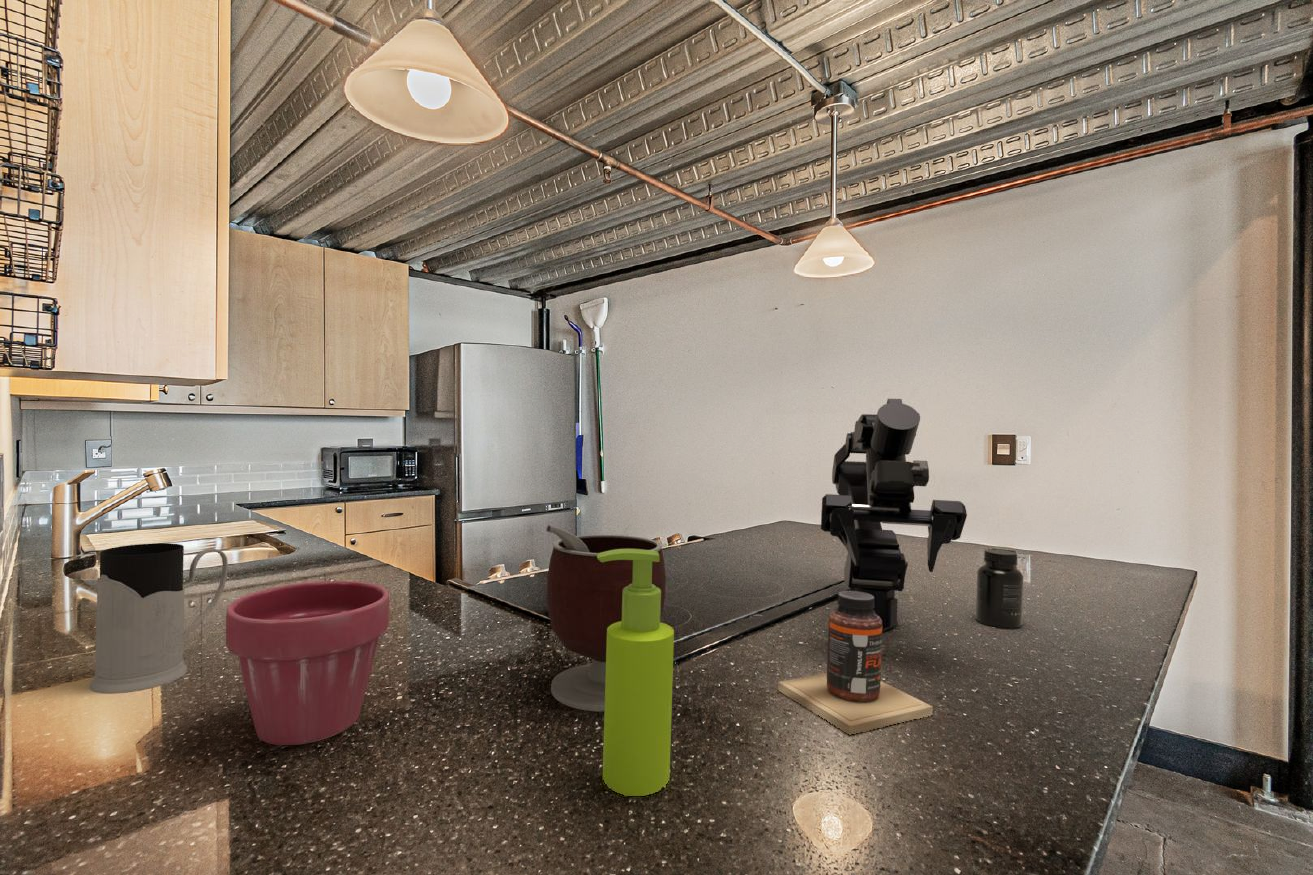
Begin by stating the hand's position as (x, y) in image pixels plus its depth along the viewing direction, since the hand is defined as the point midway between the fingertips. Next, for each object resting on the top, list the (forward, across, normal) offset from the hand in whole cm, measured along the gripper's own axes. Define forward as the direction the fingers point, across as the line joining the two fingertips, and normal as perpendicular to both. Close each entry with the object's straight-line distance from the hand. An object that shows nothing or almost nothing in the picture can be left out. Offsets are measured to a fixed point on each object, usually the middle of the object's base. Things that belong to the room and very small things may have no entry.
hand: (894, 567), depth 82 cm
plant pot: (+34, -59, -15) cm, 70 cm away
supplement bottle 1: (+17, -6, 0) cm, 18 cm away
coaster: (+18, -6, +1) cm, 19 cm away
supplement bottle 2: (-11, +20, +30) cm, 38 cm away
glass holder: (+30, -86, -10) cm, 91 cm away
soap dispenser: (+34, -26, -15) cm, 45 cm away
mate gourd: (+22, -34, -3) cm, 41 cm away
